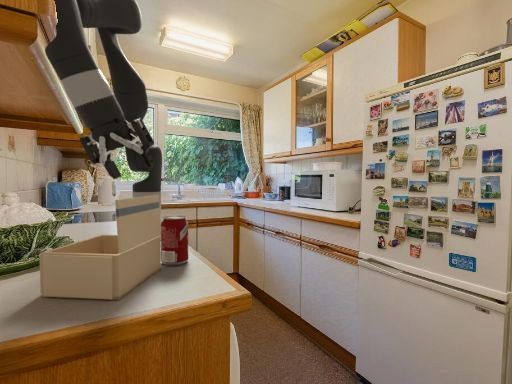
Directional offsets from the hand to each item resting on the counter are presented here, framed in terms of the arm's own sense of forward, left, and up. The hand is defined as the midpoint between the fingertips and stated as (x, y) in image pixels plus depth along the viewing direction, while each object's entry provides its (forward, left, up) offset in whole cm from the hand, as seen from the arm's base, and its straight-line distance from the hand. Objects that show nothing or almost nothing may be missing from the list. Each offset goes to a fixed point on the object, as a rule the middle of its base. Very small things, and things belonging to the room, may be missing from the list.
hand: (133, 173), depth 60 cm
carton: (+2, -5, -23) cm, 23 cm away
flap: (+5, +2, -15) cm, 16 cm away
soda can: (-8, +8, -23) cm, 26 cm away
